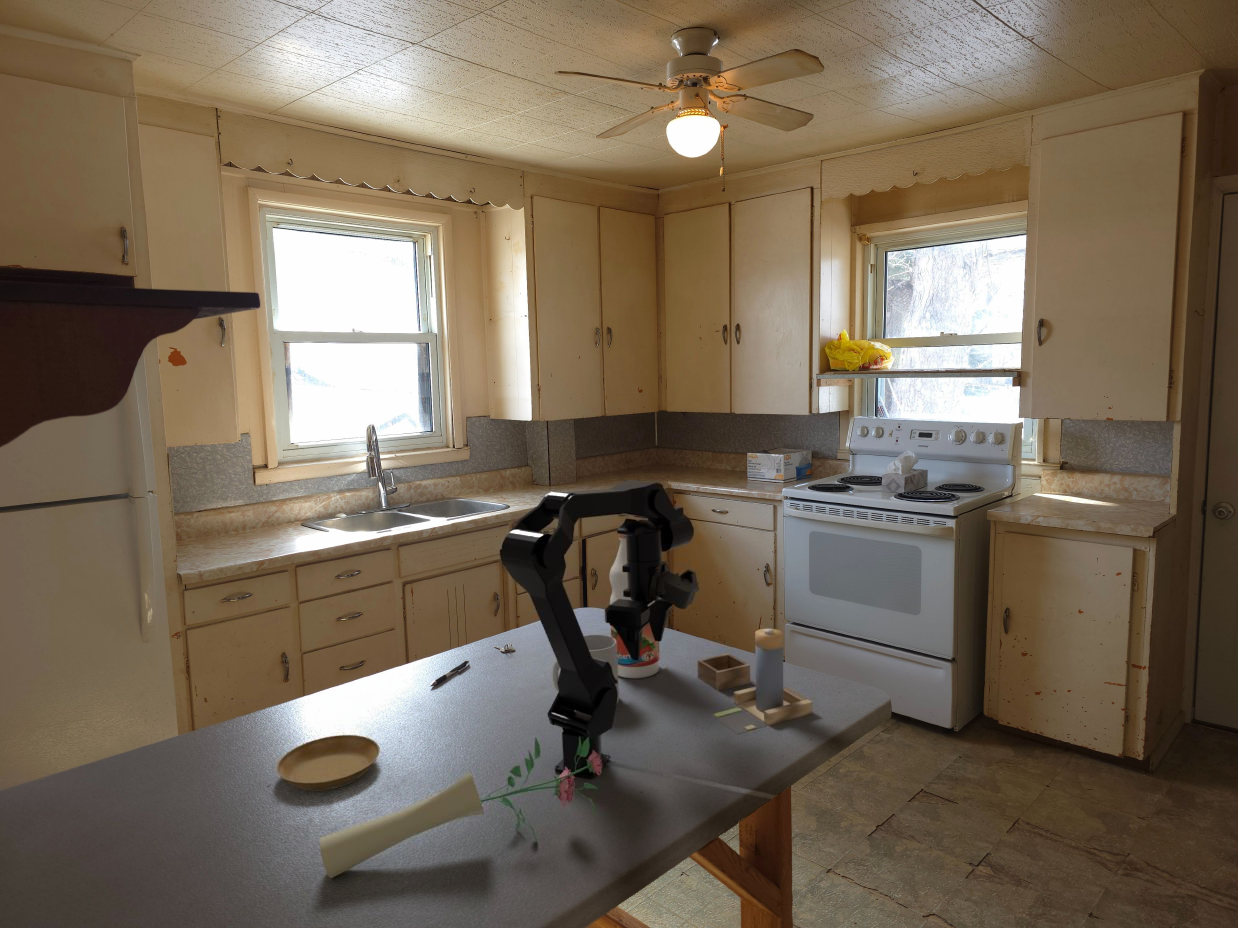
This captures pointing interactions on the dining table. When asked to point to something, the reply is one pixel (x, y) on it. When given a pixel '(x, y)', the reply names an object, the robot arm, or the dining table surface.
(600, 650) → the mug
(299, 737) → the dining table surface
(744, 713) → the pad
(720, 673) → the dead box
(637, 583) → the robot arm
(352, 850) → the flower vase
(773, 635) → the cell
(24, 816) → the dining table surface
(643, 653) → the fruit juice
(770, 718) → the light wooden tray
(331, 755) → the plant saucer
